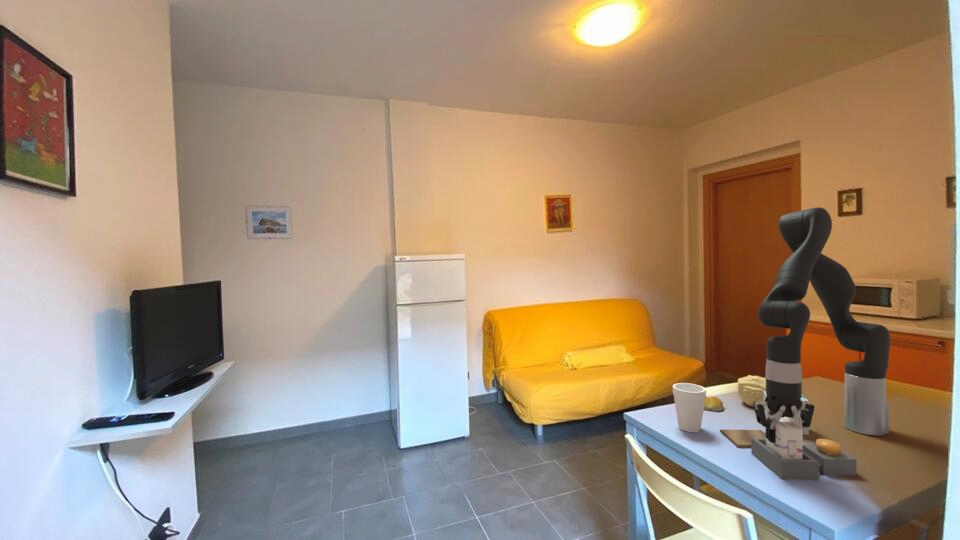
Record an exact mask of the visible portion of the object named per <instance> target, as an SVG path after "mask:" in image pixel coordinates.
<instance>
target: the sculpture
mask: <svg viewBox="0 0 960 540" xmlns="http://www.w3.org/2000/svg"><path fill="white" fill-rule="evenodd" d="M763 391H766V377H762V376H759V375H750V374H748V375H746V376H743V377H739V378H738V379H737V394H738V395H739V397H740V399H741V401H742V402H743V403H744V404H745V405H747V406H749V407H753V408H754V405H753V402H754V401H757V402H763V401H764V394H763Z"/></svg>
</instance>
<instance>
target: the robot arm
mask: <svg viewBox="0 0 960 540" xmlns="http://www.w3.org/2000/svg"><path fill="white" fill-rule="evenodd" d="M832 228H833V220H832V217H831V215H830V213H829V211H827V209H826V208H824V207H820V206H819V207H818V206H817V207H811V208H807V209H803V210H802V209H801V210H798V211H793V212H790V213H786V214H783V215H782V216H781V217H780V218H779V219H778V229H779V232H780V235H781V237H782V238H783V241H784V242H785V243H786V246H788V248H789V249H790V251H791V252H792V254H790V256H789V257H788V258H787V259H786V260H785V261H784V262H783V263H782V264H781V266H780V268H779V269H778V271H777V275H776V279H775V282H774V286H773V287H772V288H771V290H770V291H769V293H767V295H766V297H765V298H763V300H762V301H761V303H760V305H759V307H758V311H757V317H758V319H759V322H760V323H761V324H762V325H764V326H765V327H770V328H779V329H789V330H790V331H789V333H788V334H787V335H778V336H777V335H773V336H770V337H768V338H767V339H766V340H767V341H766V362H765V378H766V395H767V396H766V399H765V401H763V402H757V401H754V402H753V405H754V407H753V410H754V414H755V418H756V422H757V423H758V424H759V425H760V426H762V427H764V428H765V433H766V438H767V439H768V441H770V442H771V443H776V431H775V429H774V428H775V426H776V424H777V422H779V421H780V418H783V417H788V418H789V419H790V420H791V419H792V420H796V418H795V413H796V414H797V415H798V416H799V414H798V411H799V409H800V408H801V414H800V417H801V420H802V429H803V428H804V427H809V428H810V427H811V423H812V420H813V419H812V418H813V416H814V411H815V408H816V407H815V405H814V404H812V403H810V402H809V403H808V402H806V401H805V402H802V401H801V399H800V398H801V397H802V395H803V371H802V363H801V362H802V359H801V358H802V356H801V355H802V352H801V351H802V342H803V339H804V334H805V332H806V329H807V327H808V325H809V322H810V319H811V311H810V309H809V307H808V305H807V304H806V303H804V302H801V301H800V300H803V299H804V298H805V297H806V295H807V292H808V288H809V284H811V286H812V288H813V290H814V292H815V294H816V295H817V297H818V298H819V300H820V302H821V305H822V306H823V308H824V310H825V312H826V314H827V317H828V319H829V321H830V324H831V327H832V329H833V331H834V332H833V333H834V334H835V337H836V338H837V341H838V342H839V344H840V345H841V347H843V348H844V349H846V350H848V351H854V352H858V353H863V354H864V356H863V359H862V360H857V361H856V360H855V361H848V362H846V363H845V364H844V401H843V403H844V404H843V409H844V411H843V426H844V427H845V429H848V430H850V431H852V432H855V433H858V434H862V435H868V436H875V437H876V436H878V437H879V436H884V435H887V434H890V402H889V401H887V400H886V398H887V396H886V395H887V394H886V393H887V390H886V388H887V384H886V383H887V381H886V380H887V371H888V368H889V362H890V361H889V360H890V359H889V358H890V348H891V347H890V346H891V336H890V335H891V334H890V331H889V329H888V328H887V327H886V326H884V325H882V324H878V323H871V322H864V321H863V322H862V321H857V320H856V319H854V317H853V315H852V313H851V310H850V308H851V305H852V304H853V301H855V300H854V299H855V296H856V294H857V287H856V283H855V282H854V279H853V277H852V276H851V274H850V272H849V270H848V269H847V268H846V267H845V266H844V265H842V264H841V263H840V262H838V261H836V260H834V259H833V258H830V257H829V256H827V255H825V254H823V253H822V252H823V249H824V248H825V246H826V244H827V243H828V240H829V238H830V236H831V233H832ZM766 406H767V407H768V408H769V409H768V412H767V414H766V415H765V411H766ZM773 414H774V415H775V416H773ZM766 416H767V418H766Z"/></svg>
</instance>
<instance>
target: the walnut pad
mask: <svg viewBox="0 0 960 540" xmlns="http://www.w3.org/2000/svg"><path fill="white" fill-rule="evenodd" d="M719 433H721V434H722V435H723V436H724V437H725V438H726V439H727V440H728V441H730V442H731V443H732V444H733V445H735V446H736V448H749V449H751V439H752V438H766V432H764V431H763V430H761V429H719Z"/></svg>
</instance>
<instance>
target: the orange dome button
mask: <svg viewBox="0 0 960 540" xmlns="http://www.w3.org/2000/svg"><path fill="white" fill-rule="evenodd" d="M815 445H816V447H817V448H818V450H819V451H821V452H822V453H824V454H825V455H839V453H841V451H842V446H841V444H840V443H839V442H837V441H834V440H831V439H828V438H827V439H826V438H818V439H816V440H815Z"/></svg>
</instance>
